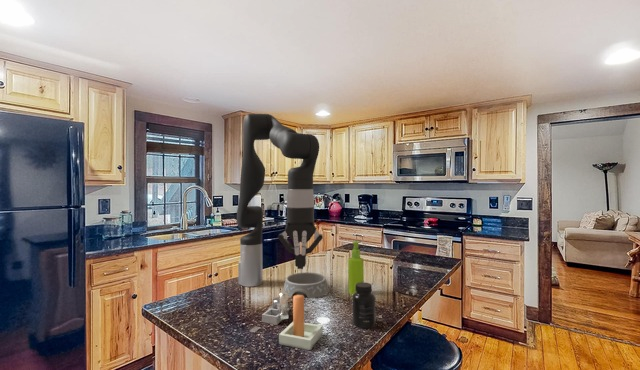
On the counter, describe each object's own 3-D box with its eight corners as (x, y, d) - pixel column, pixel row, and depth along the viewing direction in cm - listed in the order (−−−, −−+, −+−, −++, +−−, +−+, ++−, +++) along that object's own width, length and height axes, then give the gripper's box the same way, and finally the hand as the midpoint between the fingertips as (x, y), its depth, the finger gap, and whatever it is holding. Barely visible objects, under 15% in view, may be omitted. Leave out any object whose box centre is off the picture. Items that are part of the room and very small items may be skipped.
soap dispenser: (366, 290, 124) (365, 240, 124) (361, 295, 118) (360, 243, 118) (352, 288, 127) (352, 239, 127) (346, 293, 121) (346, 242, 121)
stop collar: (261, 322, 96) (261, 314, 96) (270, 315, 101) (270, 308, 101) (276, 324, 94) (276, 317, 94) (284, 317, 99) (284, 310, 99)
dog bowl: (323, 300, 115) (323, 285, 115) (276, 296, 118) (276, 282, 118) (331, 285, 131) (331, 273, 131) (290, 283, 135) (290, 270, 135)
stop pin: (291, 338, 84) (291, 297, 84) (296, 333, 87) (295, 294, 87) (301, 340, 83) (301, 299, 83) (305, 335, 86) (305, 295, 86)
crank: (272, 305, 106) (272, 281, 106) (283, 304, 107) (283, 280, 107) (277, 324, 91) (277, 296, 91) (291, 322, 92) (291, 294, 92)
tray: (278, 344, 82) (278, 334, 82) (293, 329, 91) (293, 320, 91) (310, 350, 79) (310, 340, 79) (322, 334, 88) (322, 325, 88)
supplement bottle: (350, 319, 97) (350, 281, 97) (372, 318, 98) (372, 280, 98) (355, 329, 90) (354, 288, 90) (378, 328, 91) (377, 287, 91)
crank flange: (241, 329, 91) (241, 326, 91) (274, 305, 109) (274, 302, 109) (262, 333, 88) (262, 330, 88) (292, 308, 106) (292, 305, 106)
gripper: (274, 206, 83) (274, 271, 83) (323, 206, 82) (324, 272, 82) (279, 204, 90) (279, 264, 90) (324, 204, 89) (324, 264, 89)
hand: (300, 268), depth 86 cm, fingers closed
